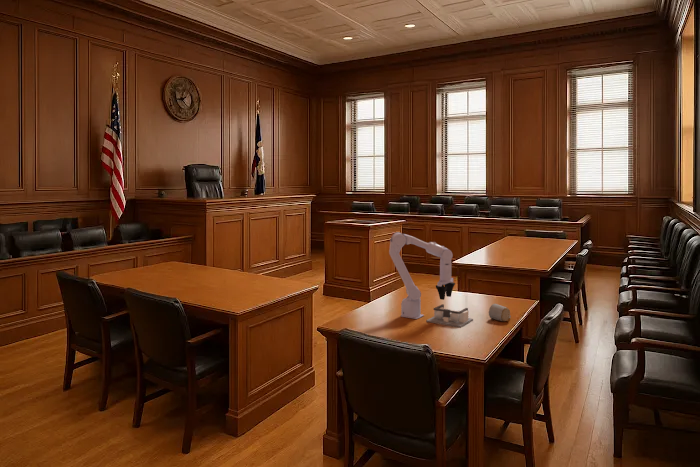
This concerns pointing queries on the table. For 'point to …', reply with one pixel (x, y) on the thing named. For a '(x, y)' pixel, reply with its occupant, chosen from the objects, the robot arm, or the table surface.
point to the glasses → (447, 313)
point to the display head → (447, 321)
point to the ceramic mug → (499, 312)
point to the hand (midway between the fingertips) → (445, 297)
